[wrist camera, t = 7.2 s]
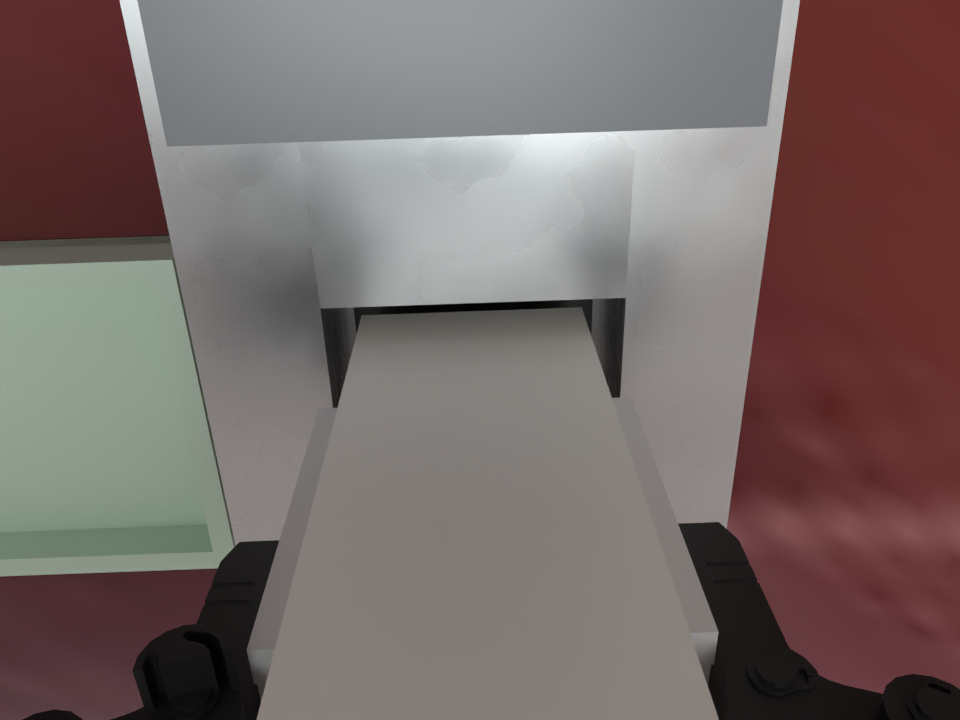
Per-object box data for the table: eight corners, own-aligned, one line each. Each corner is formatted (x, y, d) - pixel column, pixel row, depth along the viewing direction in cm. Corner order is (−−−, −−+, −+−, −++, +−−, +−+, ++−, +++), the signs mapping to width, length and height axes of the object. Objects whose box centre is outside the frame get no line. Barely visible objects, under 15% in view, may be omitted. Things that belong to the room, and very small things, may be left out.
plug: (361, 315, 18) (141, 1162, 6) (581, 307, 18) (856, 1131, 6) (380, 494, 21) (253, 1385, 8) (576, 486, 21) (763, 1362, 8)
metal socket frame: (279, 509, 24) (248, 607, 21) (114, -427, 15) (4, -543, 11) (680, 494, 24) (718, 589, 21) (778, -446, 15) (879, -570, 11)
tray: (-53, 538, 25) (-89, 579, 23) (-175, 247, 20) (-229, 273, 19) (252, 526, 25) (238, 567, 23) (194, 234, 20) (171, 259, 19)
